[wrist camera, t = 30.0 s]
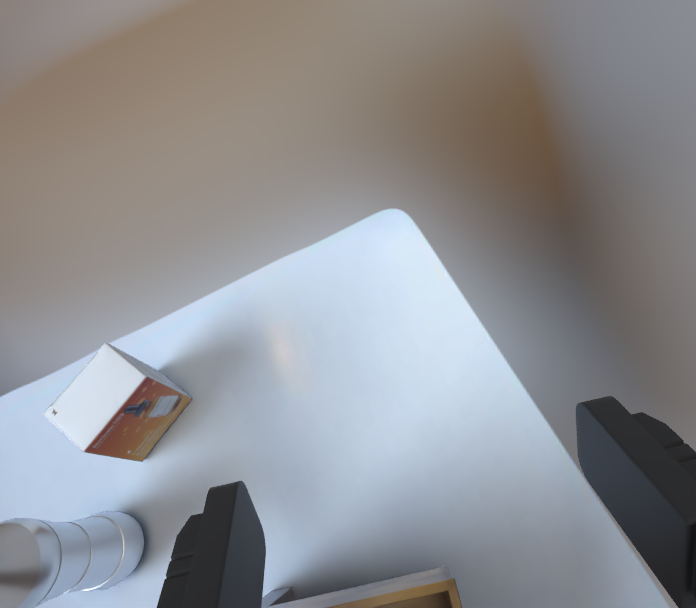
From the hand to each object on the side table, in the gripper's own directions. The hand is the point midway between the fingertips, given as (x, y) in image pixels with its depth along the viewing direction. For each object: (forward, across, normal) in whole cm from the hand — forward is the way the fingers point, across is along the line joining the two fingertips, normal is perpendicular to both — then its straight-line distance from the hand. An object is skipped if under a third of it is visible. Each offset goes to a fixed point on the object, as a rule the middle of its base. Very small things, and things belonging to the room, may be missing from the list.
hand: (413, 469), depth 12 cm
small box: (+36, +24, +18) cm, 47 cm away
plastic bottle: (+28, +28, +27) cm, 48 cm away
